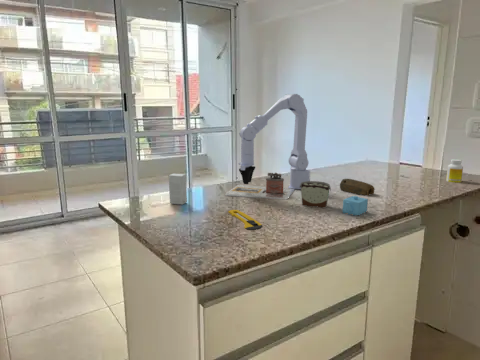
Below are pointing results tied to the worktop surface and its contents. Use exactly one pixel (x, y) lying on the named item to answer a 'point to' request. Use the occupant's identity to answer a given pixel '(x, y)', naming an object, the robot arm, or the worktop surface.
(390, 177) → the worktop surface
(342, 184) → the brown cylinder
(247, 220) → the utility knife
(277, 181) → the lighter
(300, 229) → the worktop surface
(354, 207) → the blue lidded box
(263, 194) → the rail plate
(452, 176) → the supplement bottle
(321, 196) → the food container
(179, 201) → the skincare box
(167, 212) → the worktop surface
